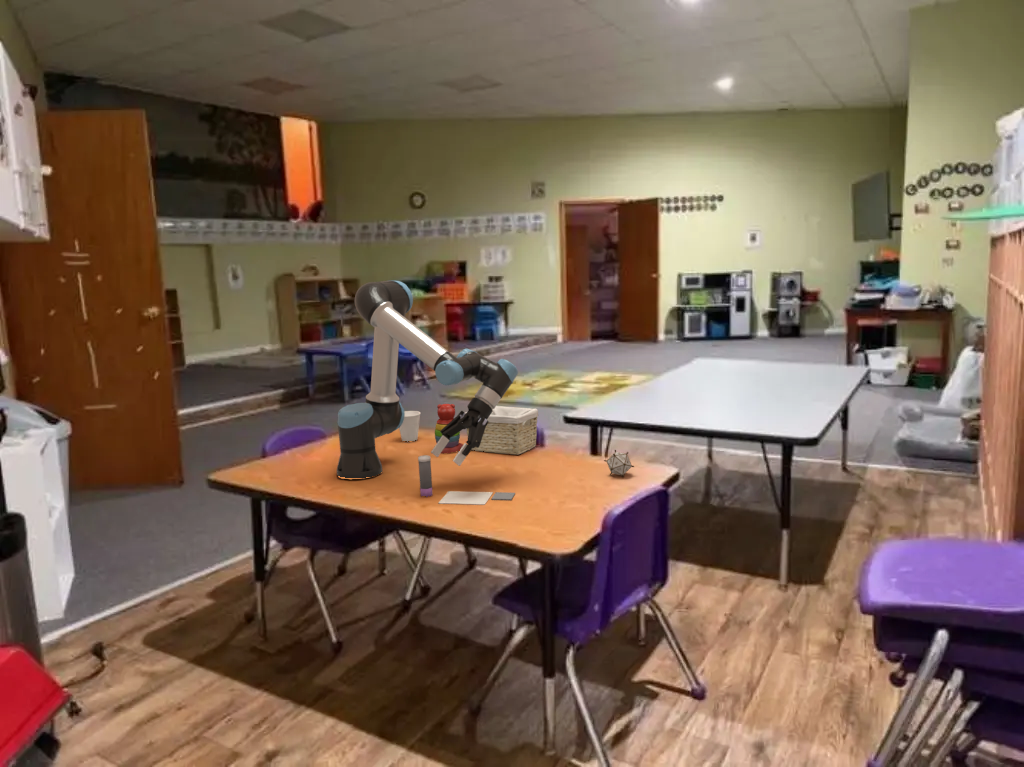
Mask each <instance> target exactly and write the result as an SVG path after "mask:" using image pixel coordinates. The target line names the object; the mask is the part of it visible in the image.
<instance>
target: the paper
mask: <svg viewBox="0 0 1024 767" xmlns="http://www.w3.org/2000/svg"><path fill="white" fill-rule="evenodd" d="M493 493H494V492H493V491H457V490H454V491H453V490H451V491H450V490H449V491H448V490H447V492H446V494H445V495H444V496H443V497H442V498H441V499H440V500H439V501H438V504H443V505H473V506H474V505H475V506H476V505H477V506H486V504H487V502H488V501H489V499H490V498H492V496H493V495H494V494H493Z"/></svg>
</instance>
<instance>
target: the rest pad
mask: <svg viewBox="0 0 1024 767" xmlns="http://www.w3.org/2000/svg"><path fill="white" fill-rule="evenodd" d="M515 496H516V492H503V491H501V492H500V491H499V492H498V491H497V492H496V491H495V493H494V494H493V495H492V496H491V500H492V501H513V499H514V498H515ZM512 498H513V499H512Z"/></svg>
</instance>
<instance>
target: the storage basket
mask: <svg viewBox="0 0 1024 767" xmlns="http://www.w3.org/2000/svg"><path fill="white" fill-rule="evenodd" d="M467 412H468V411H466V412H465V413H467ZM538 417H539V410H538V409H537V408H529V407H528V408H527V407H513V406H505V405H504V406H501V405H496V407H495V408H494V409H492V413H491V414H490V416H489V417H488V419H487V420H488V421H489V422H488V424H487V426H486V428H485V431H484V434H483V437H482V440H481V443H480V446H479V447H478V448H477V447H475V448H472V450H471V451H474V450H475V451H474V452H483V451H484V452H485V453H494V454H505V455H509V454H510V455H521V454H524V453H525V452H528V451H530V450H531V449H532V450H533V448H535V447H536V446H537V434H538V432H537V431H538V429H537V427H538V426H537V424H538ZM468 433H469V429H467V428H466V435H467V436H468ZM476 442H477V441H476Z"/></svg>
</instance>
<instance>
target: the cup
mask: <svg viewBox="0 0 1024 767" xmlns="http://www.w3.org/2000/svg"><path fill="white" fill-rule="evenodd" d="M404 413H405V416H404V421H403V423H402V425H401V426H400V427H399V428H398V429H399V434H400V437H401V441H402V442H403V441H407V442H406V443H409V442H408V441H414V442H416V441H417V440H418V437H419V426H420V417H421V414H422V413H421V412H420V411H418V410H404ZM415 440H416V441H415Z"/></svg>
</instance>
